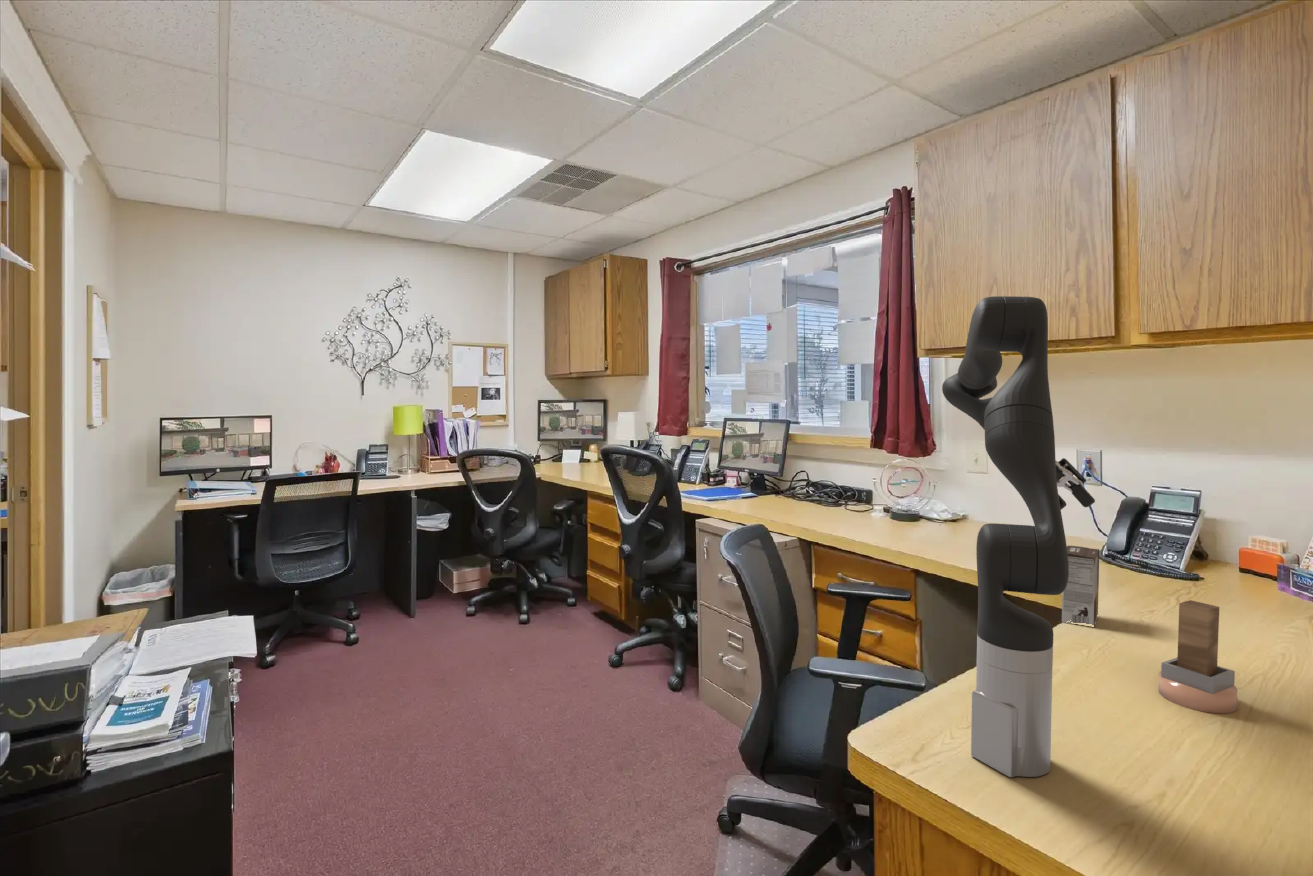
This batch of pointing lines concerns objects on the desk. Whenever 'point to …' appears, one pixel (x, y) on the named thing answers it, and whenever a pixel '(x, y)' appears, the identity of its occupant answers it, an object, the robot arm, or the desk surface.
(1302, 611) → the desk surface
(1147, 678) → the desk surface
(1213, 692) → the dish
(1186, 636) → the brown wooden block
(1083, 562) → the coffee box
